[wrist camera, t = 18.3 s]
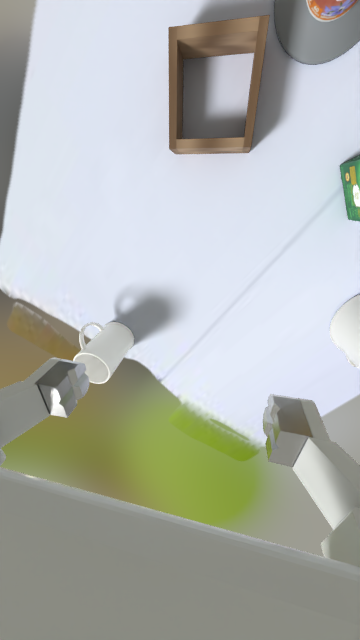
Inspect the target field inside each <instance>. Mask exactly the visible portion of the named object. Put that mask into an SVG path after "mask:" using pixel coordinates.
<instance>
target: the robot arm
mask: <svg viewBox="0 0 360 640" xmlns="http://www.w3.org/2000/svg"><path fill="white" fill-rule="evenodd" d="M330 337H331V340H332V341H333V343H334V344H335V345H336V347H338V348H339V349H340V350H341V351H342V352H344V353H345V355H346V358H347V360H348V362H349V363H350V364H351V365H352V366H354V367H358V368H359V369H360V294H359V295H357V296H355V297H353V298H352V299H350V300H349V301H347V302H346V303H345V304H344V305H343V306H341V307H340V309H339V310H338V311H337V312H336V314H335V315H334V317H333V319H332V321H331V324H330ZM85 371H86V366H85V364H84V363H80V362H75V361H70V360H65V359H59V358H51V359H49V360H48V361H47V362H45V363H44V364H43V365H42V366H41V367H40V368H38V369H37V370H36V371H35V372H34V373H33V374H32V375H30V376H29V377H28V378H27V379H26V380H25V381H23V382H21V381H20V382H17V383H15V384H12V385H10V386H8V387H5V388H3V389H0V465H1V464H2V463H3V462H4V460H5V459H6V455H5V454H4V452H3V451H2V449H1V447H3V446H4V445H6V444H7V443H9V442H11V441H12V440H14V439H15V438H17V437H18V436H20V435H21V434H23V433H24V432H26V431H27V430H28V429H30V428H32V427H33V426H35V425H36V424H37V423H39V422H41V421H42V420H44V419H45V418H47V417H48V416H49V414H50V415H55V416H62V417H68V416H69V415H70V414H71V412H72V411H73V410H74V408H75V407H76V406H77V400H78V399H80V398H82V397H83V396H84V395H85V394H86V392H87V390H88V387H89V377H88V376H87V375H86V374H85V373H84V372H85ZM263 429H264V433H265V434H266V436H267V437H268V438H267V441H266V450H267V456H268V461H269V462H274V463H277V464H281V465H286V466H290V467H293V470H294V472H295V473H296V474H297V476H298V477H299V479H300V480H301V482H302V483H303V485H304V486H305V488H306V489H307V491H308V492H309V494H310V495H311V497H312V498H313V500H314V501H315V503H316V504H317V506H318V507H319V508H320V510H321V512H322V513H323V515H324V516H325V518H326V519H327V521H328V522H329V524H330V525H331V527H332V528H333V531H332V532H331V533H330V534H329V536H327V537H326V539H325V540H324V541H323V542H322V543H321V547H322V551H323V555H324V557H322V556H319V555H315V554H311V553H308V552H304V551H301V550H297V549H293V548H290V547H286V546H283V545H279V544H275V543H272V542H268V541H265V540H261V539H257V538H254V537H250V536H247V535H243V534H239V533H236V532H232V531H228V530H225V529H221V528H218V527H214V526H211V525H207V524H203V523H200V522H196V521H193V520H189V519H185V518H182V517H178V516H175V515H171V514H167V513H164V512H160V511H157V510H153V509H149V508H146V507H142V506H139V505H135V504H131V503H128V502H124V501H121V500H117V499H113V498H110V497H106V496H103V495H99V494H95V493H91V492H88V491H85V490H81V489H77V488H73V487H70V486H66V485H63V484H59V483H56V482H52V481H49V480H45V479H41V478H38V477H34V476H31V475H27V474H23V473H20V472H16V471H13V470H9V469H5V468H2V467H0V640H360V465H359V464H358V463H357V462H356V461H355V460H354V459H353V458H352V457H351V456H350V455H349V454H347V453H346V452H345V451H344V450H343V449H342V448H341V447H340V446H339V445H338V444H337V443H336V442H332V441H331V440H330V438H329V435H328V433H327V431H326V428H325V426H324V424H323V421H322V419H321V417H320V414H319V412H318V409H317V407H316V405H315V403H314V402H313V401H312V400H306V399H300V398H298V399H297V398H293V397H287V396H281V395H274V394H270V396H269V398H268V407H266V408H265V411H264V415H263Z"/></svg>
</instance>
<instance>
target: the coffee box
mask: <svg viewBox="0 0 360 640" xmlns="http://www.w3.org/2000/svg"><path fill="white" fill-rule="evenodd" d="M340 170H341V179H342V183H343V189H344V196H345V202H346V209H347V215H348V219H349V220H353V221H360V155H359V156H357V157H355V158H353V159H351V160H349V161H347V162H345V163H343V164H341V165H340Z"/></svg>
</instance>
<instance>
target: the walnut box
mask: <svg viewBox="0 0 360 640" xmlns="http://www.w3.org/2000/svg"><path fill="white" fill-rule="evenodd" d="M269 16H270V15H265V16H257V17H249V18H241V19H232V20H224V21H216V22H208V23H200V24H192V25H183V26H175V27H169V149H170V150H171V151H172V152H174V153H175V154H217V153H249V151H250V148H251V144H252V137H253V130H254V123H255V116H256V108H257V101H258V94H259V87H260V80H261V73H262V66H263V59H264V51H265V44H266V37H267V30H268V23H269ZM244 53H254V60H253V68H252V76H251V84H250V92H249V100H248V108H247V116H246V124H245V132H244V137H238V138H206V139H182V122H183V60H184V59H192V58H202V57H213V56H223V55H234V54H244Z"/></svg>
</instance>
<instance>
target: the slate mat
mask: <svg viewBox="0 0 360 640" xmlns="http://www.w3.org/2000/svg"><path fill="white" fill-rule="evenodd" d="M274 17H275V26H276V31H277V34H278V38H279V40H280V42H281V44H282V47H283V48H284V49H285V51H286V52H287V53H288V54H289V55H290V56H291V57H292V58H293V59H295V60H296V61H298V62H301V63H303V64H308V65H317V64H323V63H326V62H329V61H331V60H334V59H336V58H338V57H339V56H341V55H342V54H344V53H346V52H347V51H348V50H349V49H351V48H352V47H353V46H354V45H355V44H356V43H357V42H358V41H359V40H360V0H358V1H357V2H356V3H355V5H354V6H353V7H352V8H351V9H350V10H349V11H348V12H347V13H346V14H344V15H343V16H341V17H340V18H338V19H336V20H334V21H330V22H321V21H318V20H316V19H315V18H314V17H313V16H312V15H311V14H310V12H309V9H308V6H307V2H306V0H275V2H274Z"/></svg>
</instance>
